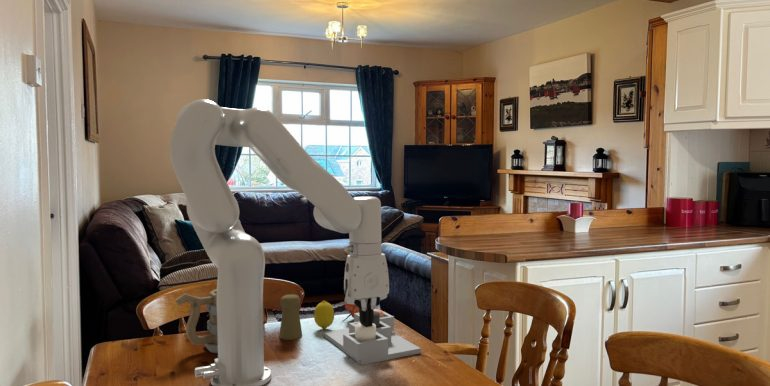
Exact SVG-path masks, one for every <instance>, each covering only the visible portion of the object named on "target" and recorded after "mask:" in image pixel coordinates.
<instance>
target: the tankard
mask: <svg viewBox="0 0 770 386" xmlns="http://www.w3.org/2000/svg"><path fill="white" fill-rule="evenodd" d="M208 294H209V295H208V296H203V297H199V296H194V295H192V294H188V293H185V292H184V293H182V294H181V295H180V296H178V297H177V298H175V302H176V304H177V305H178V306H182V305H183V304H184V303H188V304H190V311H189V312H190V314H189V316H188V319H187V323H186V325H185V331H186V336H187V338H188V339H189V342H190V343H191V344H192V345H194V346H196V345H197V346H199V345H201V346H203V345H204V347H205V348H206V349H207V350H208V351H209V352H210V353H211V354H213V353H214V354H218V337H217V288H216V289H213V290H211V291H209V293H208ZM202 305H203V306H204V305H206V311H207V312H208V313H209V319H208V320H207V321H206V324H207V325H206V330H207V331H208V332H209V333H208V334H205V335H198V334H197V330H196V327H197V324H198V322H199V318H200V314H201V306H202Z"/></svg>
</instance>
